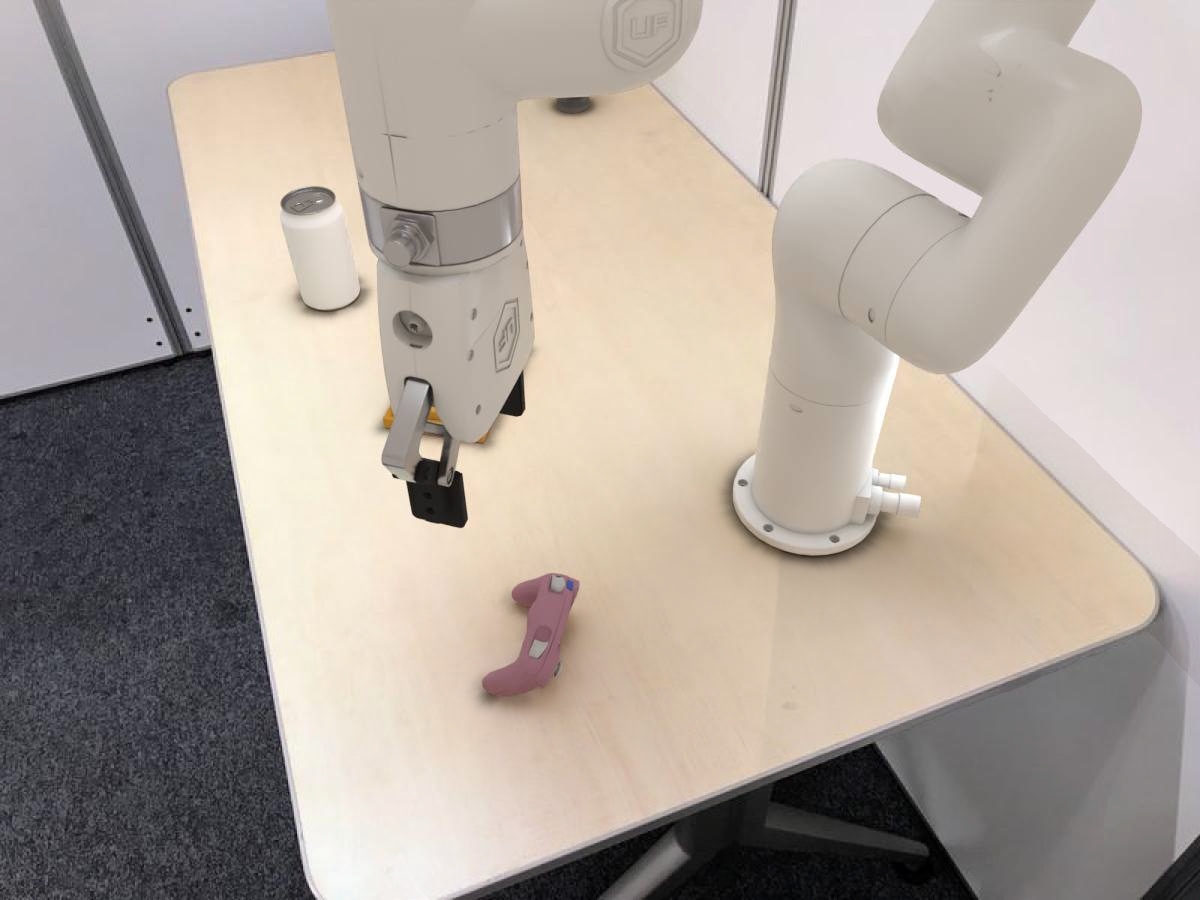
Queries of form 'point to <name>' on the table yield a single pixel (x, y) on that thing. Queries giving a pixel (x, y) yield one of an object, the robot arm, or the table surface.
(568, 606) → the video game controller
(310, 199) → the can
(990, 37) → the robot arm
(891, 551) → the table surface
